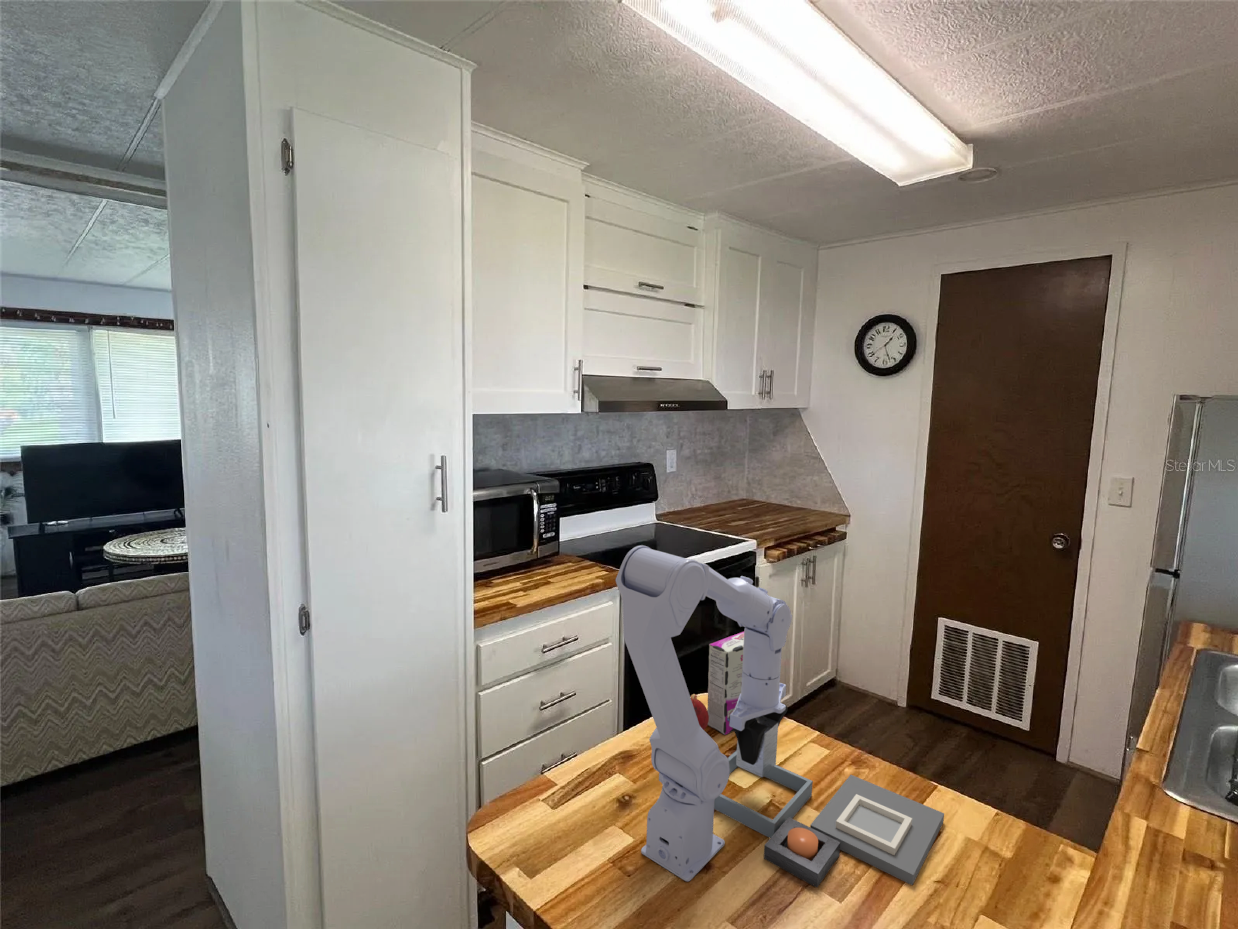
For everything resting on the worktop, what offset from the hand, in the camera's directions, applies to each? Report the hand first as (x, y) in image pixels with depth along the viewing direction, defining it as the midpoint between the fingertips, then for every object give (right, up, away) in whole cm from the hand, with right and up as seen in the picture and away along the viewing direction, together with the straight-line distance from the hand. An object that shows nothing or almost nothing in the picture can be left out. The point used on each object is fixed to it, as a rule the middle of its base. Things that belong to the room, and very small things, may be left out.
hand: (756, 754), depth 97 cm
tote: (0, -7, +1) cm, 7 cm away
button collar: (+4, -9, -11) cm, 15 cm away
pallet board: (+17, -8, -5) cm, 19 cm away
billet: (0, -2, 0) cm, 2 cm away
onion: (-8, -5, +18) cm, 20 cm away
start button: (+4, -8, -11) cm, 15 cm away
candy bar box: (+1, -5, +24) cm, 24 cm away
